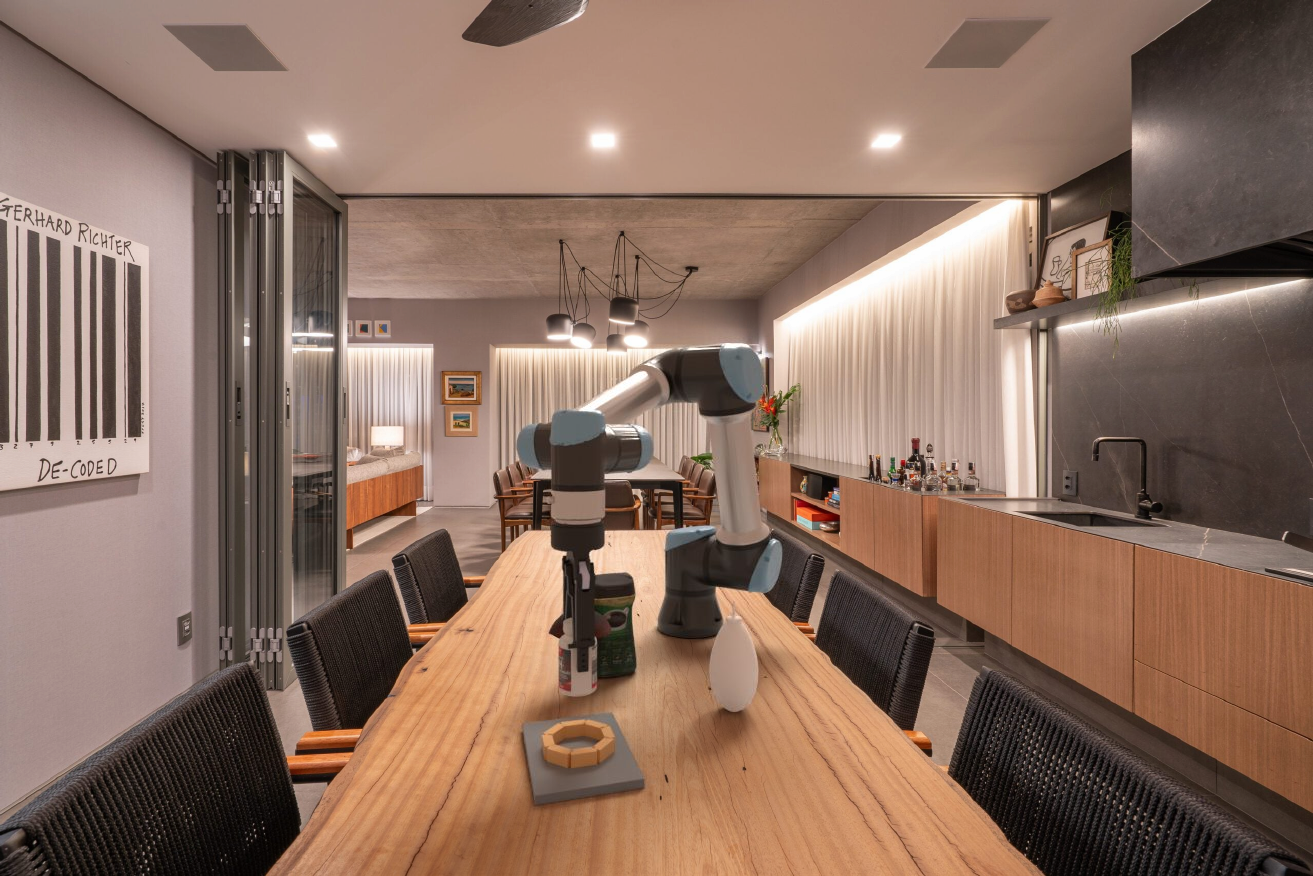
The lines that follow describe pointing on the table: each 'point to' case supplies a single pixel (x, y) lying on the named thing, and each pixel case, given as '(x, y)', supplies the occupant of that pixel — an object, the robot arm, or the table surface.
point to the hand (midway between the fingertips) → (577, 684)
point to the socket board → (579, 758)
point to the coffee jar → (615, 624)
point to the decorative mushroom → (600, 627)
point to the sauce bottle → (733, 665)
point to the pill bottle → (566, 661)
